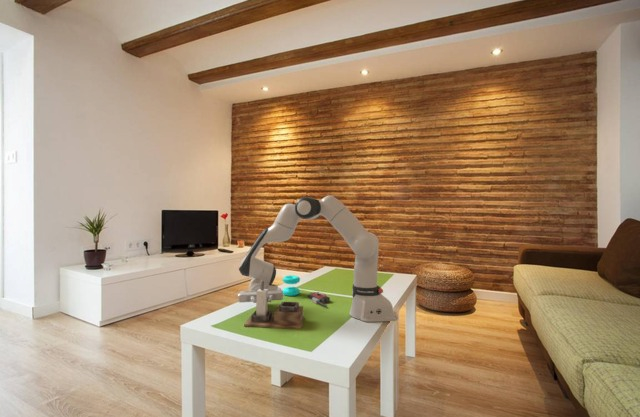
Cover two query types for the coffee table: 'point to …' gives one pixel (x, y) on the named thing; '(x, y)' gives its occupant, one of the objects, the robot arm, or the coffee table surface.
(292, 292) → the donuts
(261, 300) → the plug
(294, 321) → the brown wooden stepped base
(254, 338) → the coffee table surface
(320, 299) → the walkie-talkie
